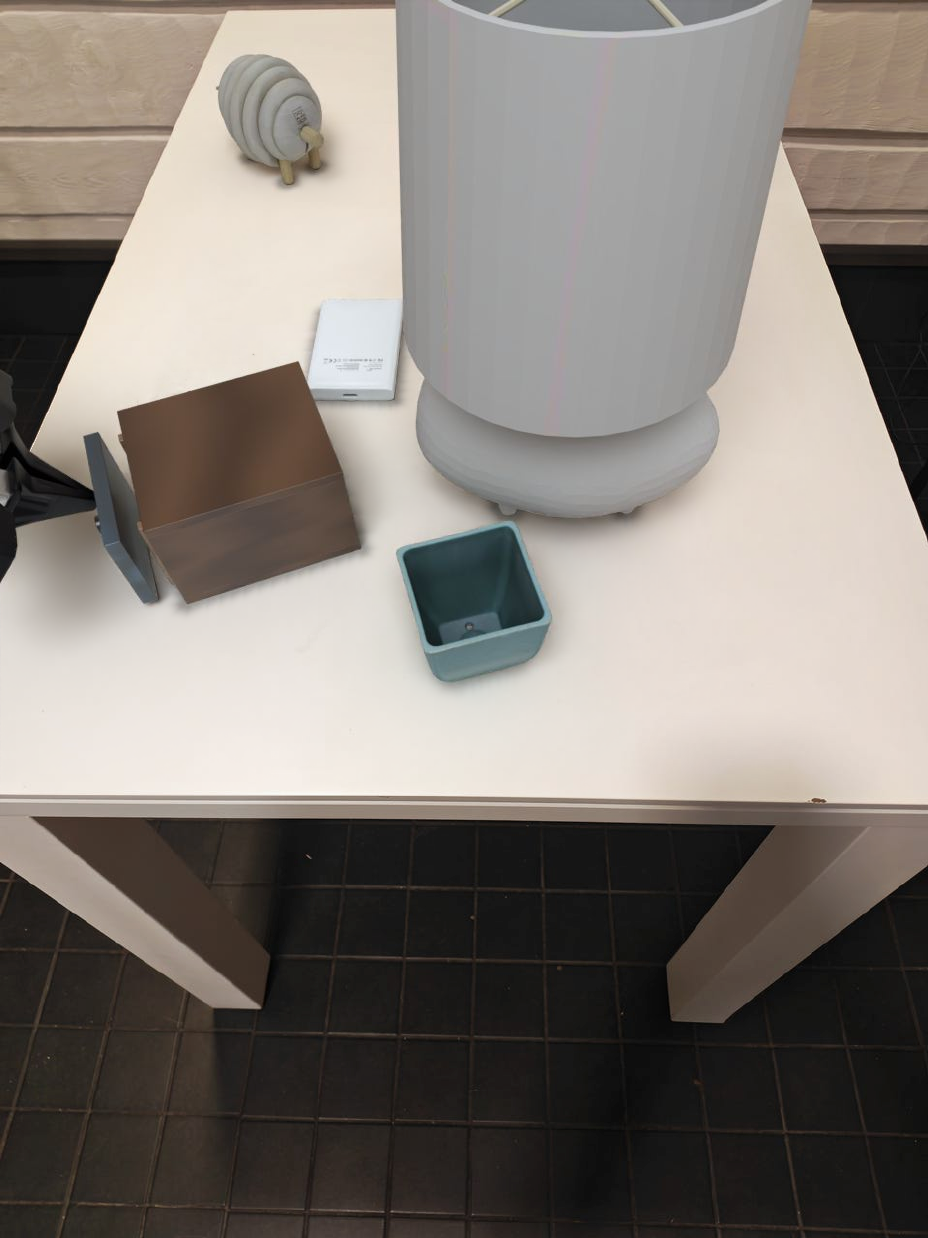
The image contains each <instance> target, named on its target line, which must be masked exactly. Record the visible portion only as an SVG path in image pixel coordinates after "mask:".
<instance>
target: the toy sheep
mask: <svg viewBox="0 0 928 1238" xmlns="http://www.w3.org/2000/svg"><path fill="white" fill-rule="evenodd" d="M215 90H216V91H217V102H218V107H219V112H220V114H221V117H222V119H223V121H224V124H225V127H226V129H227V131H228V133H229V135H230V137H231V138H232V139H233V141H234V142H235V143H236V144H237V146H238V147H239V149H240V150H241V152H242V153H244V158H246V159H247V160H249V161H250V160H252V161H254V162H257V163H260V164H263V165H266V166H269V167H273V168H279V169H280V172H281V176H282V181H283V183H284V184H286V185H291V184H293V183H294V181H295V177H294V172H293V167H292V164H294V163H295V162H296V161H298V160H299V159H301V158H303V157H304V156H306V155H307V156H308V162H309V165H310V167H311V168H312V169H314V170H317V169H320V167H321V165H322V162H321V156H320V152H319V148H321V147H323V145H324V136H323V135H322V134H321V133H320V132H321V129H322V123H323V122H322V121H323V112H322V111H323V110H322V104H321V102H320V98H319V96H318V94H317V93H316V91H315V89H314V88H313V87H312V85H311V83H310V82H309V80H308V79H307V77H306V76H305V75H304V74H303V73H301V72H300V71H299V70H298V69H297V68H296V66H294V65H293V64H292V63H291V62H289V61H287V60H286V59H283V58H280V57H277V56H272V55H268V54H263V53H262V54H261V53H260V54H259V53H258V54H244V55H240V56H239V57H236V58H235V59H234V60H232V61H231V62H230V63H229V64H228V65H227V67H226V68H225V69H224V71H223V73H222V75H221V78H220V79H219V84H218V85H217V86H215Z"/></svg>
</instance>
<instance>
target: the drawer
mask: <svg viewBox="0 0 928 1238" xmlns="http://www.w3.org/2000/svg"><path fill="white" fill-rule="evenodd" d="M82 437H83V443H84V448H85V453H86V460H87V464H88V469H89V476H90V480H91V485H92V490H93V491H94V497H95V502H96V507H97V508H96V512H97V514H95V515H94V516H93V520H94V521H93V522H94V524H95V527H96V530H97V531H98V533H99V534H100V535H101V539H102V545H103V548H104V549H105V551H106V552H107V554H108V555H109V557H110V558H111V559H112V561H113V562H114V563H115V565H116V566H117V568H118V569H119V570H120V572H121V573H122V575H123V577H124V578H125V580H126V581H127V582H128V584H129V585H130V586H131V588H132V590H133V591H134V592H135V594H136V596H137V597H138V598H139V600H140V602H141V603H142V604H143V605H145V604H149V603H152V602H155V601H158V600H159V596H158V591H157V587H156V583H155V578H154V574H153V569H152V564H151V559H150V555H149V551H148V548H149V550H150V552H151V553H152V555H153V557H154V559H155V560H156V562H157V563H158V564H159V567H160V568H161V570H162V571H163V573H164V575H165V576H166V578H167V579H168V581H169V583H170V584H171V586H176V585H175V584H174V582H173V580H172V579H171V577H170V575H169V574H168V572H167V570H166V569H165V567H164V566H163V564H162V562H161V561H160V559H159V557H158V556H157V554H156V552H155V551H154V549H153V547H152V546H151V544H150V542H149V541H148V539H147V537H146V536H145V534H144V532H143V528H142V524H141V519H140V515H139V510H138V506H137V501H136V496H135V492H134V490H133V489H132V487H131V485H130V483H129V482H128V480H127V479H126V476H125V475H124V474H123V471H122V470H121V468H120V466H119V465H118V463H117V461H116V459H115V458H114V456H113V454H112V452H111V451H110V449H109V448H108V445H107V444H106V442H105V441H104V439H103V437H102V435H101V433H100V432H98V431H96V432H92V433H89V434H85V435H83V436H82ZM117 439H118V442H119V444H120V446H121V448H122V449H123V451H124V453H125V454H126V451H125V447H124V442H123V438H122V433H119V434H117Z"/></svg>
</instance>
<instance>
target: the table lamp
mask: <svg viewBox="0 0 928 1238" xmlns="http://www.w3.org/2000/svg"><path fill="white" fill-rule="evenodd" d="M394 2H395V41H396V43H395V44H396V77H397V78H396V80H397V81H396V82H397V84H396V85H397V120H398V121H397V123H398V161H399V162H398V163H399V166H398V167H399V168H398V169H399V200H400V201H399V203H400V242H401V243H400V244H401V283H402V285H401V287H402V301H403V323H402V330H403V337H404V340H405V345H406V348H407V351H408V353H409V355H410V357H411V359H412V361H413V363H414V365H415V367H416V369H417V370H418V372H419V373H420V374H421V375H422V376H423V378H424V379H423V381H422V384H421V387H420V390H419V394H418V398H417V401H416V402H417V403H416V413H415V432H416V433H415V434H416V440H417V443H418V446H419V449H420V451H421V453H422V455H423V457H424V458H425V459H426V461H427V462H428V463H429V464H430V465H431V466H432V467H433V469H435V470H436V471H437V472H438V473H439V475H441V476H442V477H444V478H445V479H447V480H448V481H449V482H451V483H452V484H454V485H455V486H456V487H459V488H461V489H463V490H464V491H466V492H468V493H471V494H473V495H475V496H477V497H480V498H482V499H484V500H487V501H490V502H492V503H495V504H498V508H499V509H498V510H499V512H500V514H502V515H504V516H507V517H508V516H514V515H515V514H516V513H517V512H518V510H519V511H523V512H527V513H532V514H536V515H541V516H546V517H551V518H552V517H553V518H559V519H560V518H561V519H585V518H595V517H601V516H606V515H610V514H612V515H613V514H616V513H622V514H631V513H632V512H634V510H635V509H636V508H637V507H640V506H642V505H646V504H648V503H650V502H653V501H655V500H657V499H659V498H662V497H665V496H667V495H668V494H670V493H672V492H674V491H676V490H678V489H679V488H681V487H682V486H684V485H685V484H687V483H688V482H690V481H691V480H692V479H694V478H695V477H696V476H697V475H698V474H699V473H700V472H701V471H702V470H703V468H704V467H705V466H706V465H707V464H708V463H709V461H710V459H711V458H712V456H713V454H714V452H715V450H716V448H717V444H718V441H719V437H720V431H721V430H720V421H719V420H720V419H719V414H718V411H717V408H716V407H715V404H714V403H713V400H711V398H710V396H709V394H708V393H707V392H708V391H709V390H710V389H711V388H712V387H713V386H714V385H715V384H716V383H717V381H718V380H719V379H720V377H721V376H722V375H723V373H724V371H725V370H726V368H727V367H728V364H729V362H730V359H731V357H732V355H733V352H734V349H735V346H736V342H737V341H736V340H737V337H738V333H739V328H740V324H741V318H742V315H743V309H744V306H745V302H746V301H745V300H746V298H747V297H746V296H747V292H748V288H749V282H750V279H751V274H752V270H753V265H754V261H755V256H756V252H757V247H758V243H759V239H760V235H761V229H762V227H763V226H762V225H763V221H764V216H765V212H766V208H767V203H768V199H769V194H770V190H771V186H772V181H773V177H774V174H775V173H774V172H775V168H776V164H777V159H778V154H779V150H780V145H781V142H782V136H783V132H784V128H785V124H786V119H787V114H788V110H789V106H790V101H791V97H792V92H793V88H794V83H795V80H796V76H797V75H796V74H797V70H798V65H799V61H800V57H801V53H802V49H803V43H804V40H805V35H806V30H807V26H808V21H809V17H810V13H811V8H812V3H813V0H395V1H394Z"/></svg>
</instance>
